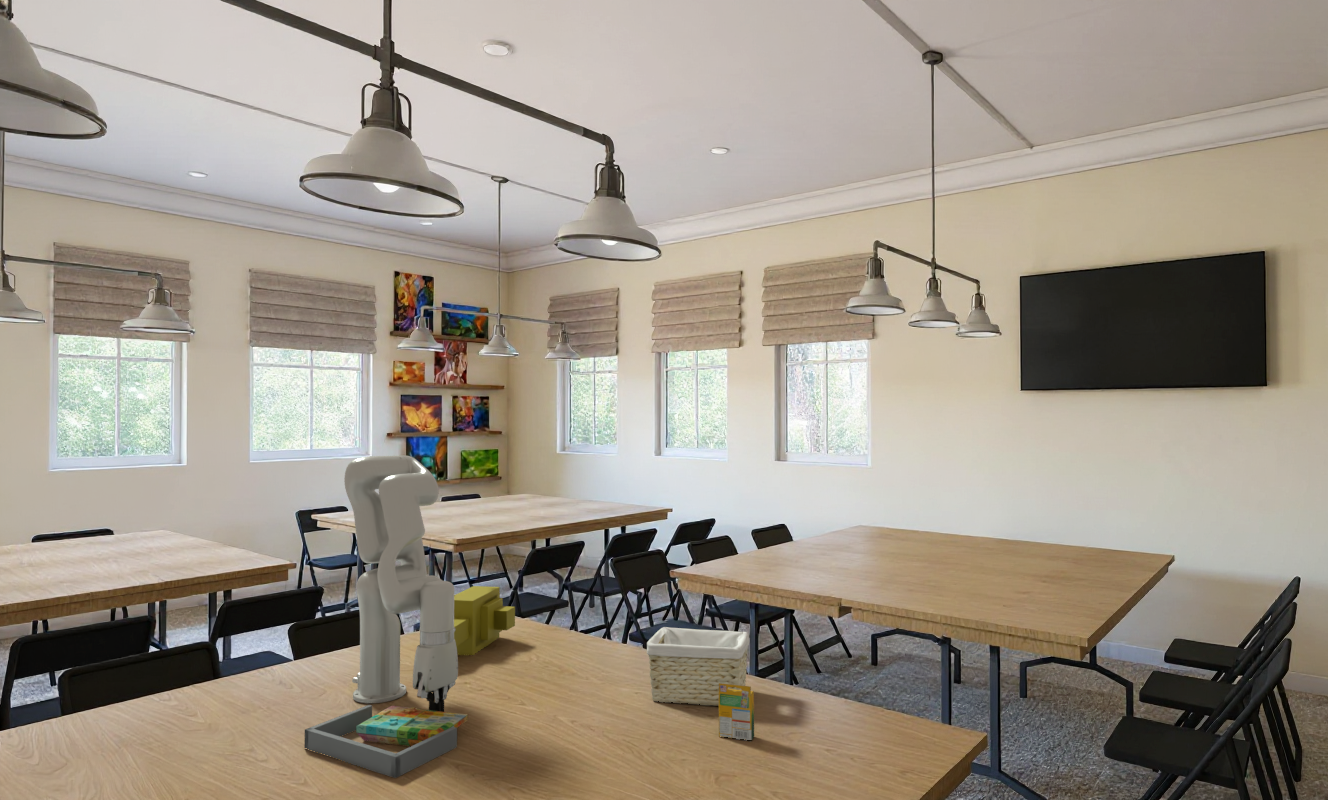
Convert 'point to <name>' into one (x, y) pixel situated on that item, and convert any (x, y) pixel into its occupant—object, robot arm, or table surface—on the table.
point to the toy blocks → (480, 618)
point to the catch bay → (369, 757)
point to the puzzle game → (407, 725)
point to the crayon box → (736, 712)
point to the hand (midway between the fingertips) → (436, 717)
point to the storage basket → (695, 664)
